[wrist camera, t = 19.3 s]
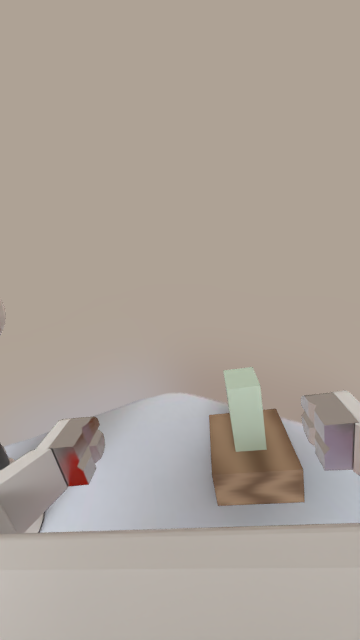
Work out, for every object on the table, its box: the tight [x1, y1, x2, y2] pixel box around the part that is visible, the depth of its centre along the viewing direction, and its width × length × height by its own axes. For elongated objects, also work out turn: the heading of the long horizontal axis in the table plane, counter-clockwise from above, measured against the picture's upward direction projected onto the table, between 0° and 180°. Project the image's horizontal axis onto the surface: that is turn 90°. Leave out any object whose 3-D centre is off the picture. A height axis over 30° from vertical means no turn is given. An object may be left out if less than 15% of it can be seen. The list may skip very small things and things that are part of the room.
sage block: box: [224, 367, 267, 452], centre depth 36 cm, size 4×5×11 cm
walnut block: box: [209, 409, 304, 506], centre depth 39 cm, size 12×12×6 cm
